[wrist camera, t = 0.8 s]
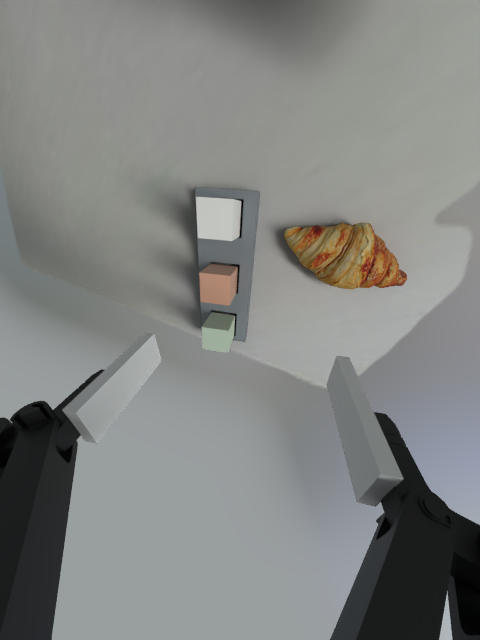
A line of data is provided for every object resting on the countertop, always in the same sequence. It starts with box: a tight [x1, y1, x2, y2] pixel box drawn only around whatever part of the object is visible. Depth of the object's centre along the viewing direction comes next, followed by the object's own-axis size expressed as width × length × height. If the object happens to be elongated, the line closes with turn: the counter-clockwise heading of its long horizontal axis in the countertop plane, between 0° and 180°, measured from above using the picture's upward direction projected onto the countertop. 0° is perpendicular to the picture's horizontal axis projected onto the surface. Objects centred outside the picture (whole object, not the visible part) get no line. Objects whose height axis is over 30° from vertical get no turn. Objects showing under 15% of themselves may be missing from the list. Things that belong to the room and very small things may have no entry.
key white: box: [196, 197, 241, 241], centre depth 29 cm, size 5×5×6 cm
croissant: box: [284, 223, 407, 289], centre depth 31 cm, size 21×10×8 cm, turn 71°
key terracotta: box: [199, 264, 238, 306], centre depth 34 cm, size 5×5×6 cm
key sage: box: [202, 312, 235, 353], centre depth 39 cm, size 5×5×6 cm
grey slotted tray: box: [195, 187, 260, 342], centre depth 38 cm, size 28×10×2 cm, turn 176°
